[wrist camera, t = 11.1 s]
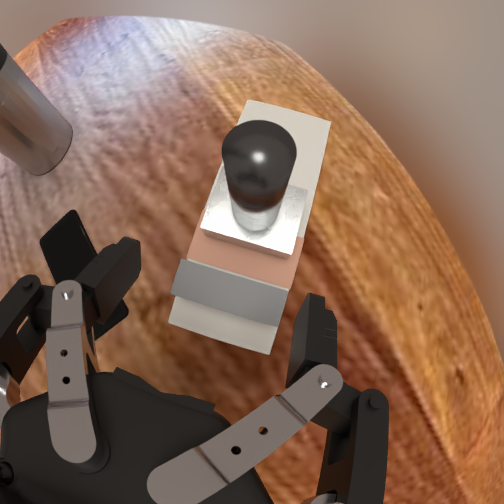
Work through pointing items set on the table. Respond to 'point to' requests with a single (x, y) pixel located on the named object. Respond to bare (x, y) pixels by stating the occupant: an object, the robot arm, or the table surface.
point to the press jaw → (256, 190)
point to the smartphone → (74, 260)
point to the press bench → (248, 255)
